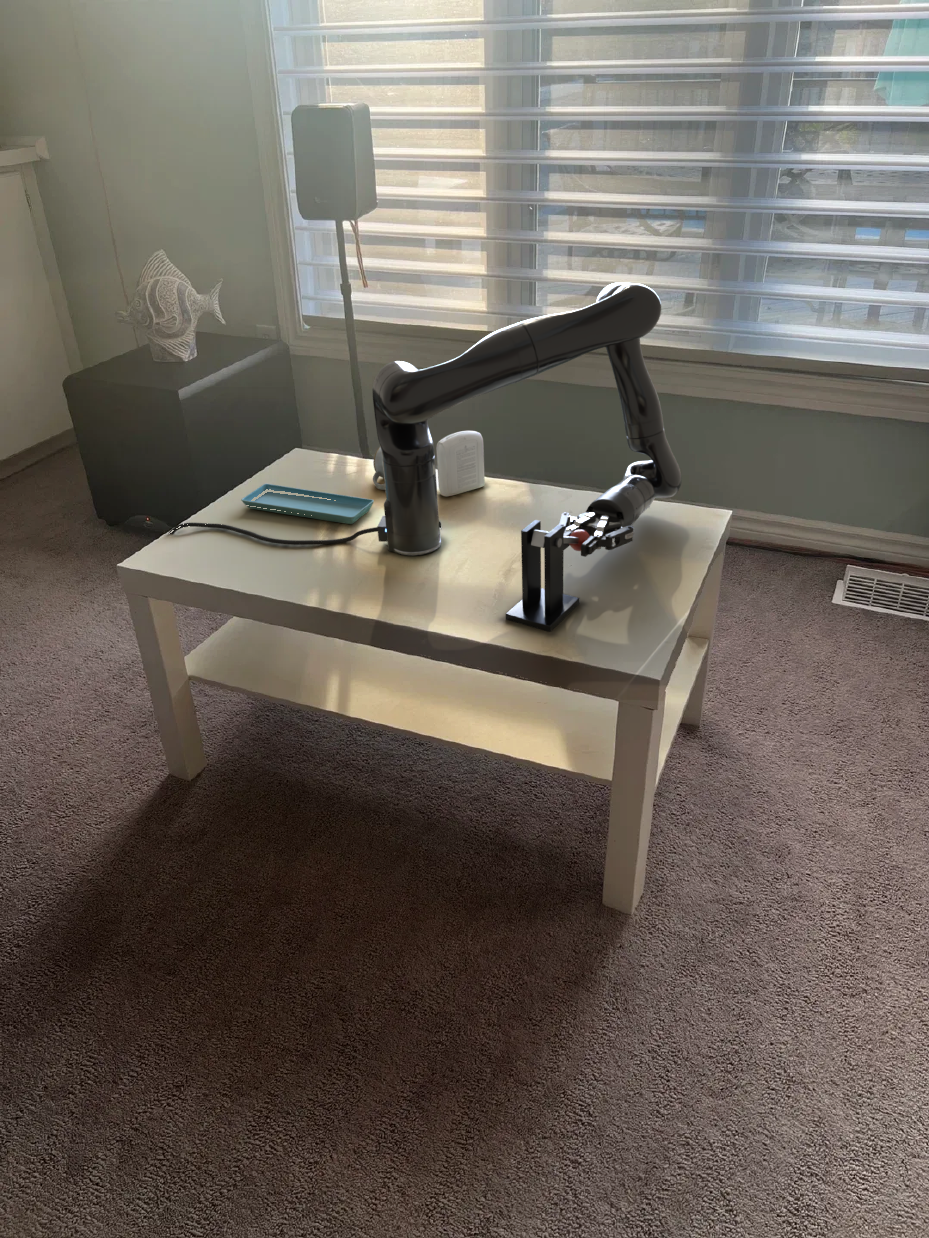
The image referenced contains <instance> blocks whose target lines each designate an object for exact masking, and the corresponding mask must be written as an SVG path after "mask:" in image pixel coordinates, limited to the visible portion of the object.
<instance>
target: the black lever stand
mask: <svg viewBox="0 0 929 1238" xmlns="http://www.w3.org/2000/svg"><path fill="white" fill-rule="evenodd" d="M541 525H542V523H541V520H538V519H534V520H533V521H532V522H531V523H529V524H528V525H526V526H525V527H524V528H523V529H521V530H520V543H521V545H520V547H521V549H520V550H521V587H522V588H521V595H522V596H521V597H522V598H521V600H520V601H518V602H517V603H516V604H515V605H514V606H512V607H511V609H509V610H508V611H507V612H506V613H505V620H506V621H509V622H513V623H517V624H520V625H522V626H523V625H524V626H528V627H530V628H534V629H538V630H542V631H544V632H548V633H551V632H552V631H553V630H554V629H555V628H556V627H557V626H558V625H559V624H560V623H561V622H562V621H563V620H564V619H565V618H566V617H567V616H568V615H569V614H571V613H572V611H574V609H575V608H576V607H578V605H580V597H578V596H574V595H570V594H565V593H564V552H565V550H564V526H561V525H559V524H557V525H555V527H553V528H552V529H550V531H548V532H549V533H547V534H546V535H545V536H544V548H543V549H544V551H543V552H544V553H543V554H544V555H543V556H544V561H543V563H544V588H543V587H542V548H541V547H537V546H532V545H531V542H532V537H533V531H534V530H542V526H541Z"/></svg>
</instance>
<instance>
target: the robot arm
mask: <svg viewBox="0 0 929 1238" xmlns="http://www.w3.org/2000/svg"><path fill="white" fill-rule="evenodd" d="M661 315H662V302H661V299H660V297H659V296H658V294H657V293H656V292H655V291H654V290H653V289H652V288H651V287H648V286H646V285H644V284H642V283H635V282H614V283H611V284H608V285H607V286H605V287H604V288H603V289H602V290H601V291H600V293H599V294H598V296H597V298H596V300H595V302H594V303H593V304H590V305H587V306H585V307H582V308H579V309H575V310H572V311H565V312H560V313H553V314H547V315H542V316H538V317H533V318H529V319H525V320H522V321H520V322H516V323H513V324H510V325H508V326H505V327H502V328H500V329H498V330H496V331H495V330H494V331H493V332H491V333H489V334H488V335H486V336H485V337H483V338H482V339H480V340H479V341H477V342H476V343H475V344H474V345H472V346H471V347H470V348H468V350H466V351H464V352H463V353H462V354H461V355H459V356H457V357H455V358H453V359H450V360H448V361H446V362H442V363H440V364H437V365H434V366H429V367H427V368H423V369H418V368H417V367H416V366H415V365H413V364H412V363H409V362H406V361H402V360H401V361H400V360H396V361H391V362H388V363H387V364H385V365H383V366H382V367H380V369H379V370H378V371H377V373H376V374H375V377H374V379H373V383H372V404H373V410H374V411H373V412H374V419H375V428H376V436H377V439H378V444H379V447H381V452H382V460H383V470H384V478H383V479H384V484H385V490H384V491H385V499H384V502H383V510H384V515H382V517H381V519H380V520H379V522H378V524H377V526H376V527H369V528H364V529H361V530H359V531H356V532H355V533H353V534H352V535H350V536H347V537H342V538H335V539H312V540H311V539H309V540H308V539H305V540H304V539H303V540H301V539H299V540H297V539H296V540H295V539H280V538H274V537H268V536H264V535H261V534H258V533H255V532H253V531H250V530H247V529H244V528H240V527H236V526H233V525H229V524H223V523H211V522H210V523H208V522H184V525H183V523H180V524H178V525H176V526H174V527H173V528H171V530H169V532H168V534H169V533H170V532H171V531H172V530H174V531H173V532H172V533H170V534H169V535H174V534H175V533H176V532H177V531H179V530H181V529H184V528H189V527H188V526H190V528H192V527H193V528H194V527H195V528H209V529H212V528H213V529H223V530H228V531H232V532H235V533H238V534H242V535H245V536H249V537H252V538H255V539H257V540H260V541H263V542H267V543H273V544H279V545H297V546H305V545H306V546H307V545H308V546H309V545H312V546H313V545H315V546H316V545H317V546H319V545H336V544H343V543H347V542H351V541H353V540H355V539H357V538H358V537H360V536H362V535H366V534H371V533H377V537H378V538H377V539H378V542H380V543H381V542H382V543H383V542H387V548H388V549H387V550H388V552H394V553H396V554H398V555H402V556H410V557H411V556H412V557H413V556H423V555H426V554H430V553H433V552H435V551H436V550H438V549H439V548H440V547H441V545H442V538H441V530H442V522H441V520H440V513H439V511H440V510H439V499H438V484H437V483H438V482H437V470H436V458H435V457H436V455H435V444H434V439H433V436H432V434H431V433H432V432H431V430H430V427H429V423H428V422H429V421H428V420H430V419H431V418H434V417H435V416H437V415H440V414H441V413H443V412H445V411H447V410H450V409H451V408H453V407H455V406H457V405H459V404H462V403H463V402H466V401H468V400H470V399H473V398H477V397H479V396H482V395H486V394H488V393H491V392H493V391H496V390H500V389H501V388H502V389H503V388H504V387H507V386H509V385H513V384H517V383H519V382H522V381H525V380H527V379H529V378H532V377H535V376H538V375H540V374H542V373H544V372H547V371H549V370H551V369H554V368H556V367H559V366H561V365H565V364H566V363H568V362H570V361H573V360H575V359H577V358H579V357H581V356H583V355H586V354H588V353H591V352H594V351H597V350H599V349H603V348H605V349H606V353H607V356H608V359H609V362H610V366H611V370H612V374H613V376H614V380H615V385H616V388H617V393H618V397H619V403H620V407H621V413H622V419H623V425H624V431H625V436H626V442H627V443H626V444H627V447H628V448H629V450H630V451H632V452H634V453H637V454H638V453H639V454H643V455H646V456H648V457H649V458H650V460H638V461H634V462H632V463H630V464H628V466H627V467H626V468H625V469H624V470H625V471H624V474H623V475H622V478H621V480H620V481H619V482H618V483H616V485H614V486H612V487H610V488H608V489H607V490H605V491H604V492H603V493H601V494H600V496H597V498H596V499H595V500H593V501H592V502H591V503H590V504H589V505H588V507H587V508H586V510H585V511H584V512H583V513H580V514H578V515H577V516H571V515H570V513H569V512H566V511H565V512H562V513H561V516H560V519H559V522H558V525H561V526H564V536H570V535H571V533H572V532H573V531H575V530H579V529H581V530H585V531H586V532H587V533H588V534H589V535H590V537H589V538H588V539H587V540H586V541H585V542H584V543H582V545H581V551H580V557H585V558H586V557H587V556H589V555H591V554H593V553H594V552H595V551H596V550H601V549H602V548H604V550H606V551H612V550H614V549H617V548H619V547H622V546H624V545H626V544H629V543H631V542H634V526H633V524H634V523H635V522H636V521H637V520H638V519H639V518H640V516H641V515H643V513H645V511H647V509H649V508H650V507H651V505H652V504H653V502H654V501H655V498H671V497H674V496H675V495H676V494H678V492H679V491H680V489H681V486H682V479H683V478H682V477H683V476H682V472H681V467H680V465H679V463H678V460H677V459H676V457H675V454H674V452H673V450H672V448H671V446H670V443H669V441H668V438H667V435H666V432H665V431H666V430H665V424H664V418H663V414H662V413H663V412H662V406H661V402H660V399H659V395H658V393H657V390H656V387H655V385H654V383H653V381H652V378H651V375H650V373H649V371H648V368H647V365H646V362H645V359H644V354H643V351H642V345H641V338H643V337H645V336H646V335H648V334H649V333H651V331H652V330H653V329H654V328H655V327H656V326H657V324H658V322H659V320H660V317H661ZM207 523H208V524H207ZM187 524H188V525H187ZM205 524H206V525H205ZM221 524H222V525H221ZM179 526H181V527H180V528H178V527H179ZM183 527H184V528H183ZM176 528H178V529H176ZM613 539H614V541H613ZM568 547H571V546H570V544H569V543H564V551H565V550H567V548H568Z"/></svg>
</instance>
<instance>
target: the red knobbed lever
mask: <svg viewBox="0 0 929 1238" xmlns="http://www.w3.org/2000/svg"><path fill="white" fill-rule="evenodd" d="M549 532H550V531H547V530H543V529H541V530H534V531H533V537H532V542H531V545H532V546H537V547H541V549H544V536H545V535H546V534H547V533H549ZM589 537H590V535H589V534H588V533H587V532H586V531H585V530H581V529H579V530H575V531H573V532H572V533H571V535H570V536H564V543H569V544H570V546H569V547H570V548H571V549H573V550H574V551H576V552H581V545H582V543H584V542H585V541H586V540H587V539H588V538H589Z"/></svg>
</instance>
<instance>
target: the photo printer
mask: <svg viewBox="0 0 929 1238" xmlns="http://www.w3.org/2000/svg"><path fill="white" fill-rule="evenodd" d="M435 448H436V467H437V481H438V482H437V483H438V484H437V485H438V491H439V494H440V495H441V496H443V497H451V496H455V495H459V494H462V493H466V492H469V491H473V490H477V489H479V488H482V487H484V486H485V485H486V479H485V452H484V451H485V450H484V449H485V448H484V438H483V436H482V434H481V432H478V431H476V430H462V431H457V432H453V433H451V434H448V435H446V436H444V437H442V438H441V439H440V440H438V442H437V443H436V447H435Z"/></svg>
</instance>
